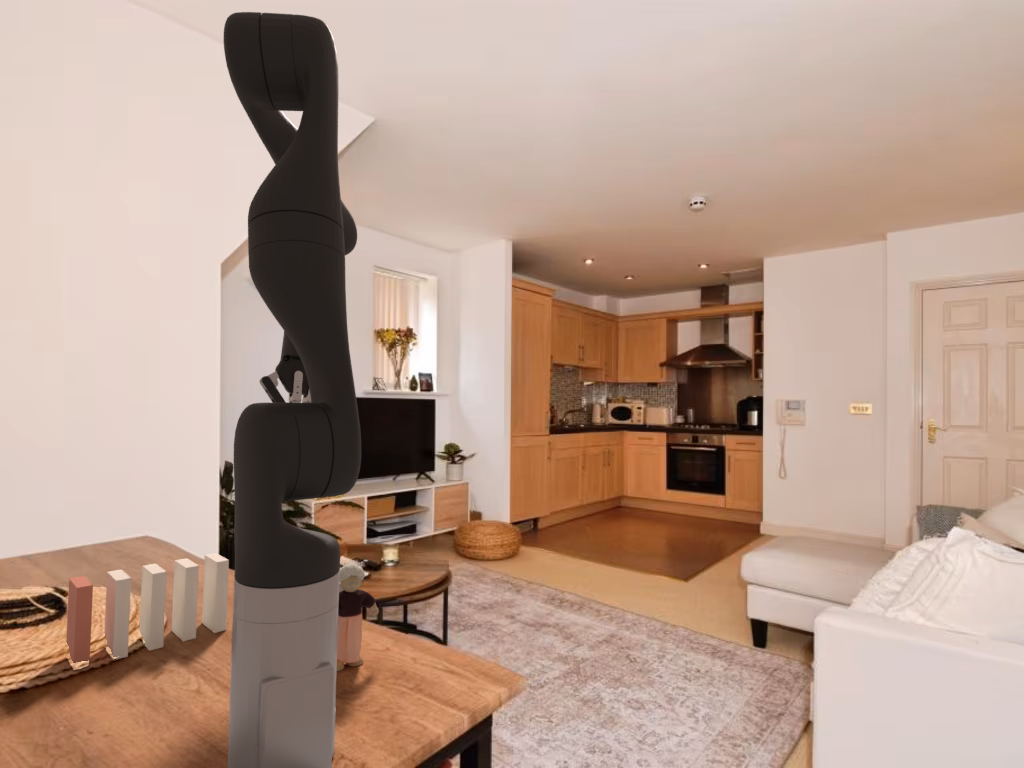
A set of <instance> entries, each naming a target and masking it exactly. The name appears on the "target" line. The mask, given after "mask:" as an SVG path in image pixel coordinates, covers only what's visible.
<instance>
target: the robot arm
mask: <svg viewBox="0 0 1024 768" xmlns="http://www.w3.org/2000/svg"><path fill="white" fill-rule="evenodd" d="M223 50H224V56H225V63H226V67H227V71H228V74H229V77H230V78H229V79H230V81H231V83H232V86H233V88H234V91H235V94H236V95H237V98H238V100H239V102H240V104H241V106H242V108H243V109H244V112H245V114H246V115H247V117H248V119H249V120H250V122H251V124H252V126H253V128H254V130H255V132H256V134H257V135H258V137H259V138H260V140H261V142H262V144H263V145H264V147H265V149H266V151H267V152H268V154H269V157H271V159H272V161H273V163H274V166H272V169H271V170H270V171H269V172H268V174H267V175H266V177H265V178H264V180H263V181H262V182H261V184H260V186H259V187H258V189H257V191H256V192H255V194H254V196H253V198H252V200H251V202H250V204H249V209H248V214H247V245H248V250H247V251H248V255H247V256H248V269H249V270H248V271H249V274H250V275H249V276H250V277H251V280H252V283H253V285H254V287H255V289H256V290H257V292H258V294H259V296H260V297H261V298H262V301H263V302H264V303H265V305H266V307H267V308H268V310H269V311H270V313H271V314H272V316H273V317H274V319H275V320H276V321H277V323H278V325H280V327H281V329H283V338H282V344H281V351H280V353H281V354H280V360H279V362H278V364H277V365H276V366H275V369H274V370H275V371H274V372H272V373H270V374H268V375H264V376H262V377H261V378H260V379H259V384H260V385H261V387H262V388H263V390H264V391H265V393H266V395H267V396H268V397H269V400H270V401H271V402H255V403H252V404H249V405H248V406H246V407H245V408H244V409H243V410H242V412H241V413H240V415H239V417H238V419H237V423H236V427H235V430H234V440H233V480H234V482H233V483H234V484H233V485H234V488H233V489H234V526H233V527H234V529H233V530H234V533H233V534H234V541H233V542H234V575H233V576H234V579H233V585H234V586H233V602H232V603H233V607H232V628H231V629H232V631H231V652H230V653H231V657H230V660H231V661H230V678H229V679H230V683H229V685H230V686H229V709H228V710H229V711H228V741H227V742H228V745H227V746H228V749H227V768H332V766H333V765H332V764H333V763H332V762H333V761H332V759H333V757H334V754H335V753H334V752H335V744H336V743H335V739H336V737H335V735H336V708H337V707H336V704H337V703H336V699H337V697H336V695H337V672H338V671H337V638H338V604H339V577H340V569H341V546H340V543H339V541H338V540H337V539H336V538H335V537H333V536H331V535H329V534H327V533H324V532H319V531H316V530H312V529H306V528H305V529H304V528H303V527H302V528H300V527H299V526H296V525H293V524H291V523H290V522H287V521H286V520H285V519H284V515H283V514H284V513H283V505H282V504H283V503H282V502H292V501H301V500H302V501H304V500H313V499H323V498H331V497H332V498H333V497H337V496H343V495H345V494H348V493H349V492H350V491H351V490H352V489H353V488H354V486H355V485H356V483H357V480H358V477H359V474H360V471H361V465H362V436H361V435H362V433H361V423H360V416H359V415H360V414H359V407H358V402H357V401H358V400H357V394H356V387H355V380H354V379H355V378H354V373H353V368H352V367H353V366H352V360H351V352H350V343H349V342H350V341H349V333H348V332H349V331H348V313H347V312H348V311H347V292H346V291H347V289H346V256H347V255H349V254H351V253H352V252H353V250H354V249H355V247H356V245H357V241H358V229H357V225H356V222H355V219H354V216H353V215H352V214H351V212H350V211H349V209H348V208H347V206H346V205H345V203H344V202H343V200H342V199H341V187H340V176H339V172H340V171H339V64H338V63H339V62H338V54H337V47H336V43H335V39H334V36H333V33H332V31H331V30H330V27H329V26H328V25H327V24H326V22H325V21H324V20H322V19H320V18H318V17H314V16H309V15H305V14H292V13H275V12H273V13H272V12H259V11H257V12H256V11H255V12H254V11H252V12H251V11H241V12H233V13H231V14H230V15H228V17H227V18H226V20H225V23H224V27H223ZM284 112H302V115H301V118H300V123H299V126H298V128H297V126H296V125H295V124H293V122H291V120H290V119H289V118H288V117H287V116H286V115H285V114H284ZM278 380H279V381H278ZM279 382H280V383H281V385H282V386H283V388H284V389H285V391H286V392H287V393H288V402H286V400H285V399H284V397H283V396H282V394H281V393H280V391H279V389H278V388H277V387H278V386H279Z"/></svg>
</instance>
